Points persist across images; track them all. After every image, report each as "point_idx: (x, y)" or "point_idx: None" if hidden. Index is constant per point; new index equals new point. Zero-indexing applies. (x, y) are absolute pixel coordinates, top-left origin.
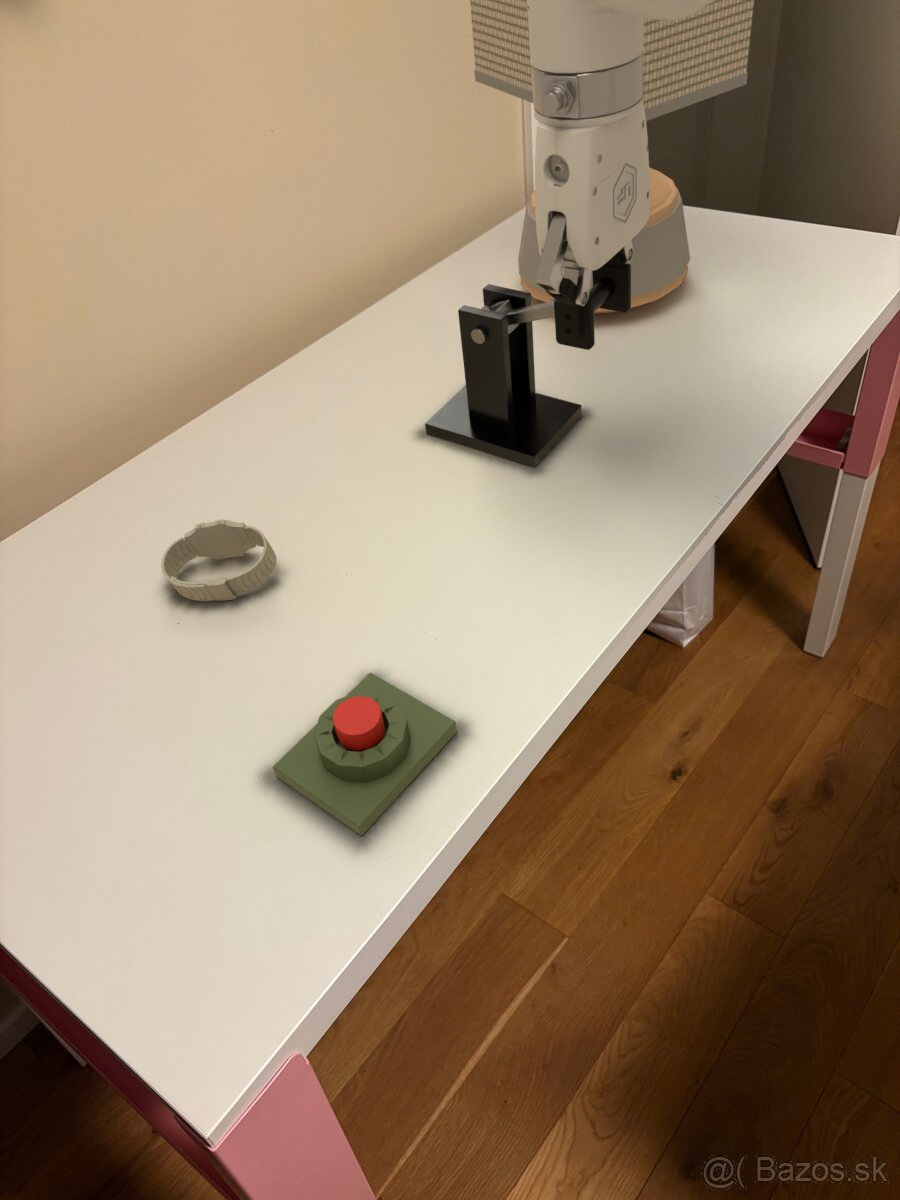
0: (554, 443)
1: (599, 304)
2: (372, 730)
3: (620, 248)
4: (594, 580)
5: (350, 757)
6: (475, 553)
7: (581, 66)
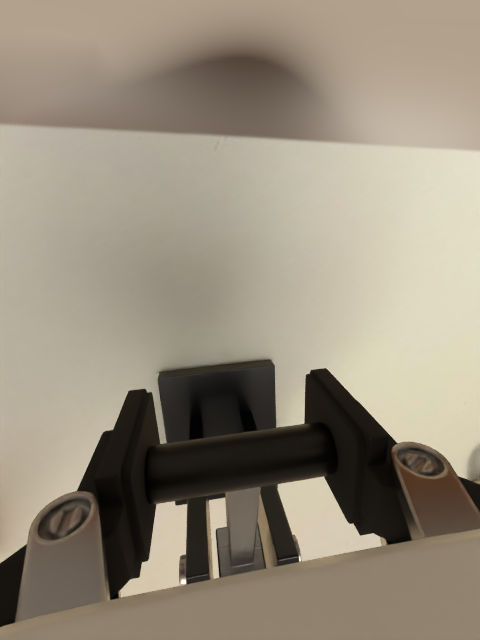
0: (227, 365)
1: (243, 437)
2: None
3: (361, 569)
4: (399, 206)
5: None
6: (406, 330)
7: None
